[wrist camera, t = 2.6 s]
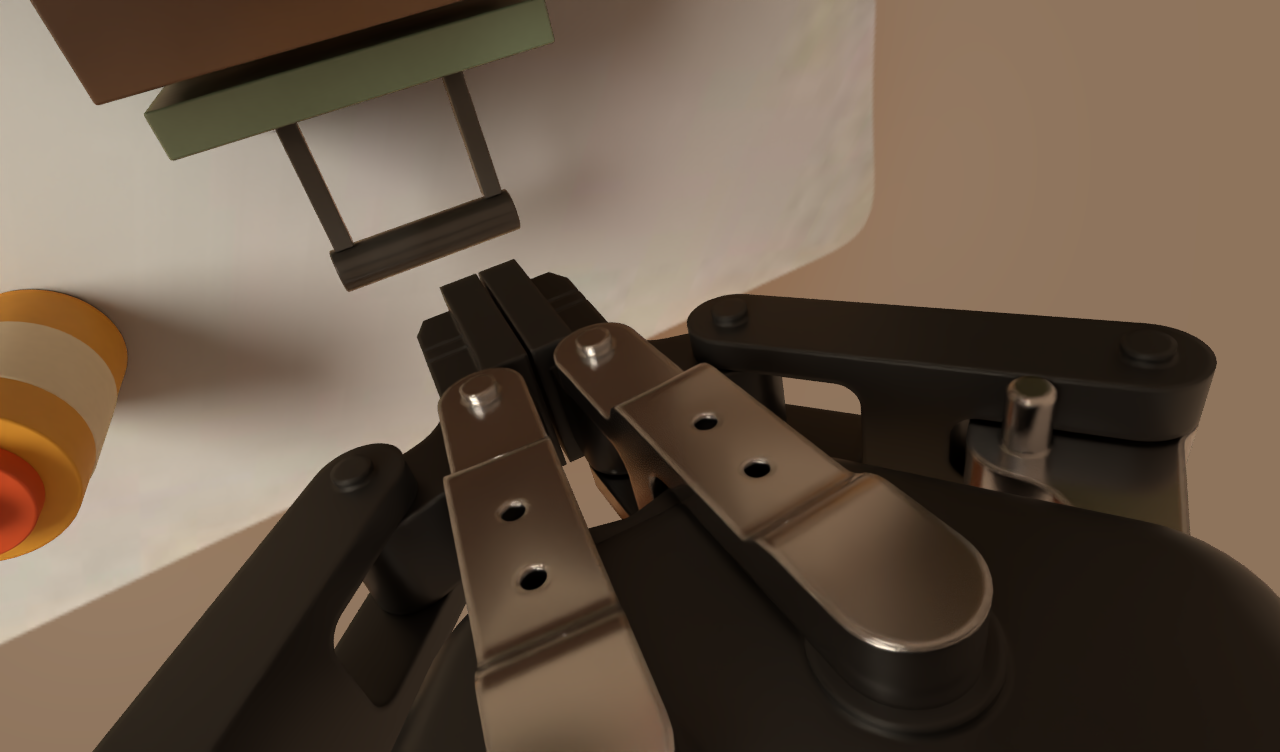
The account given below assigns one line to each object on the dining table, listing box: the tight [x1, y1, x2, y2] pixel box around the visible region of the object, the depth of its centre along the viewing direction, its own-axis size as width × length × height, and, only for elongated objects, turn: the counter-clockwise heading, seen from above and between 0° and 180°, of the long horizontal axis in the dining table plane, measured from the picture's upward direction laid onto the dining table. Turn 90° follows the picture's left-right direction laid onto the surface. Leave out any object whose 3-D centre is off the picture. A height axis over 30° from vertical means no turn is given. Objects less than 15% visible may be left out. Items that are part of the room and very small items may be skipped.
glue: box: [0, 289, 128, 561], centre depth 22 cm, size 5×5×10 cm
